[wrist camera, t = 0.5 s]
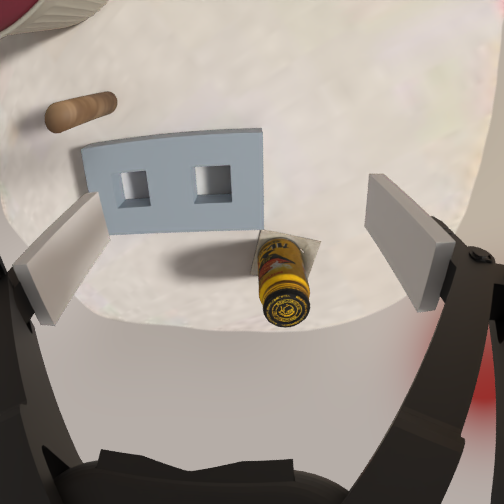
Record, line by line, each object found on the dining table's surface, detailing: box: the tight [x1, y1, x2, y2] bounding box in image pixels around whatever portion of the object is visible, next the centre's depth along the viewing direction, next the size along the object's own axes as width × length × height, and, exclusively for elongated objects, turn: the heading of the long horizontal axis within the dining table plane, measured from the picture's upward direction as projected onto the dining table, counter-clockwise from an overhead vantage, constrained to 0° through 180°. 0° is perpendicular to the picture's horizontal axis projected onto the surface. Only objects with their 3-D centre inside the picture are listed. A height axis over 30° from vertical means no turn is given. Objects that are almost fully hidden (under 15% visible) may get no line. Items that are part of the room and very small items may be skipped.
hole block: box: [81, 128, 264, 235], centre depth 39 cm, size 12×22×3 cm, turn 92°
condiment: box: [250, 230, 321, 327], centre depth 41 cm, size 7×8×12 cm
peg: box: [45, 92, 117, 133], centre depth 29 cm, size 3×3×12 cm
